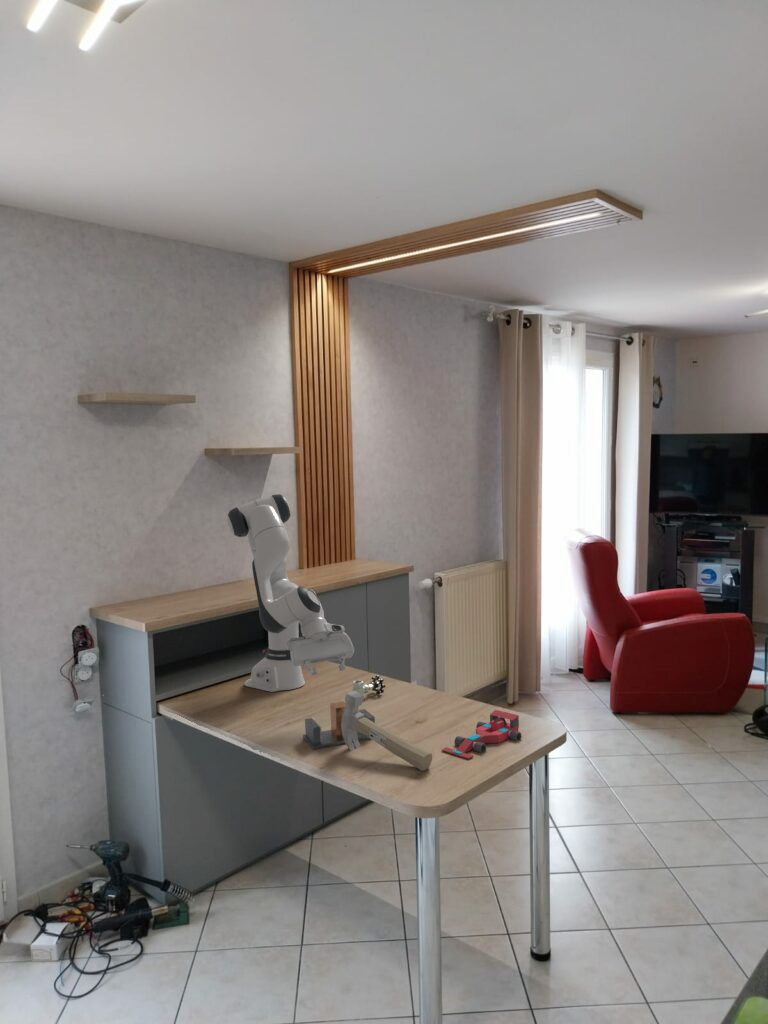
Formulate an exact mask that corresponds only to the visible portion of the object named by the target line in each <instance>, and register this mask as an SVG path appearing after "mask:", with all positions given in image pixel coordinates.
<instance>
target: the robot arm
mask: <svg viewBox="0 0 768 1024" xmlns="http://www.w3.org/2000/svg"><path fill="white" fill-rule="evenodd" d="M290 518H291V505H290V503H289V501H288V500H287V499H286V497H285V496H284V495H283V494H281V493H280V494H279V493H277V494H272V495H271V496H265V497H261V498H257V499H255V500H252V501H250V502H249V501H248V502H247V503H244V504H243V505H239V506H236V507H234V508H232V509H230V510H229V511H228V514H227V526H228V528H229V530H230V531H231V533H232V534H233V535H234V536H235V537H237V538H244V537H247V538H248V543H249V547H250V550H251V553H252V556H253V560H252V563H251V564H252V565H251V566H252V573H253V581H254V587H255V591H256V597H257V603H258V614H259V615H258V618H259V620H260V624H261V625H262V628H263V629H264V630H265V631H267V632H268V633H267V634H268V635H267V636H268V639H267V640H268V647H267V648H265V649H263V650H262V654H265V655H264V657H263V658H262V659H261V660H260V661H259V662H257V663H256V664H255V665H254V666H253V667H252V669H251V673H250V678H248V679H247V680H246V681H244V686H245V687H248V688H253V689H257V690H262V691H266V692H270V693H274V692H280V691H287V690H288V691H289V690H295V689H299V688H300V687H302V686H305V684H306V682H305V678H304V675H303V672H302V670H303V669H302V666H304V668H305V669H306V670H307V671H308V672H309V674H310V676H311V677H314V676H317V668H316V667H312V665H313V664H319V663H326V662H332V661H338V660H339V662H340V663H339V664H338V670H339V672H344V671H345V670H346V664H345V663H346V659H350V658H352V657H353V656H354V652H355V647H354V644H353V642H352V640H351V637H350V636H349V635H348V634H347V633H346V632H345V630H346V629H345V626H344V625H340V624H334V623H329V622H328V621H327V619H325V612H324V609H323V606H322V604H321V603H322V602H320V601H321V600H320V599H319V597H318V595H317V593H316V592H315V591H314V590H313V589H310V588H307V587H304V586H299V585H297V583H294V582H292V581H290V579H289V576H288V570H287V563H288V559H287V554H289V550H290V547H291V540H290V537H289V534H288V531H287V529H286V526H285V523H287V522H288V521H289V519H290ZM299 625H300V631H299ZM299 632H301V634H302V635H301V636H299Z"/></svg>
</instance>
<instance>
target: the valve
mask: <svg viewBox="0 0 768 1024" xmlns="http://www.w3.org/2000/svg"><path fill="white" fill-rule="evenodd" d="M376 681H377V682H376ZM383 682H384V678H380V675H379V674H377V675H375V676H374V675H373V676H372V677H371V681H370V682H369V683H370V684H368V685H367V684H364V681H363V680H359V679H358V680H353V681H352V688H351V691H357V692H359V693H360V694H361V695H362V696H363V702H364V701H365V696H364V695H365V694H367V693H369V691H373V692H375V694H376V695H379V694H383V693H384V692H385V690H384V689H385V688H386V684H383ZM379 687H380V688H379Z"/></svg>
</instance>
